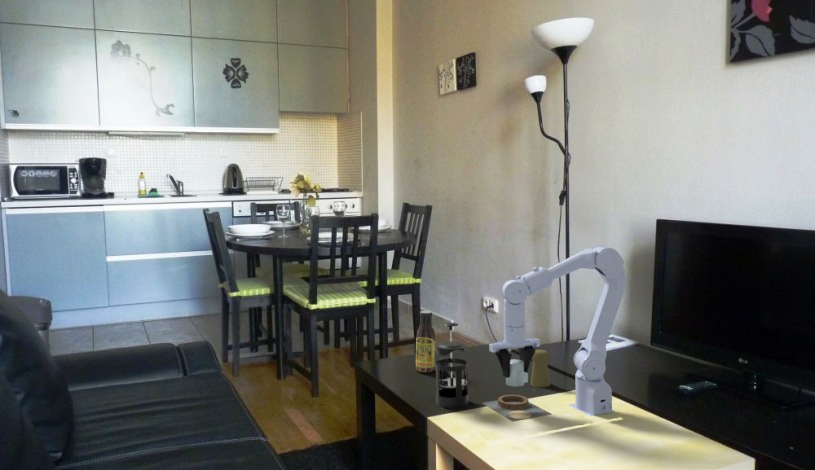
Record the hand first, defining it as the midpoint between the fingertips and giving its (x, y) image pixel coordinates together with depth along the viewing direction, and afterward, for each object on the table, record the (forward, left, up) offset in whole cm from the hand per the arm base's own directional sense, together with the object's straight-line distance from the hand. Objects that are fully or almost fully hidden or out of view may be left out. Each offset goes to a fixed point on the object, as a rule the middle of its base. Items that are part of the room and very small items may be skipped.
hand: (515, 375), depth 171 cm
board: (0, 0, -10) cm, 10 cm away
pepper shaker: (+15, -18, -10) cm, 26 cm away
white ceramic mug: (-1, 0, -2) cm, 3 cm away
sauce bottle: (+46, +6, -10) cm, 48 cm away
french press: (+13, +13, -10) cm, 21 cm away
